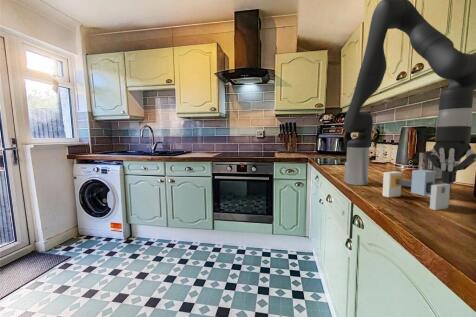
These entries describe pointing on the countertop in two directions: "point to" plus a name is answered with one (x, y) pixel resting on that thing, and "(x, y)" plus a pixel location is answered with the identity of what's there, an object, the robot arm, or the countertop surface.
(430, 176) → the notched grey block
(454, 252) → the countertop surface
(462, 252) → the countertop surface
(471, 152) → the robot arm
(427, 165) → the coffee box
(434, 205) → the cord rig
